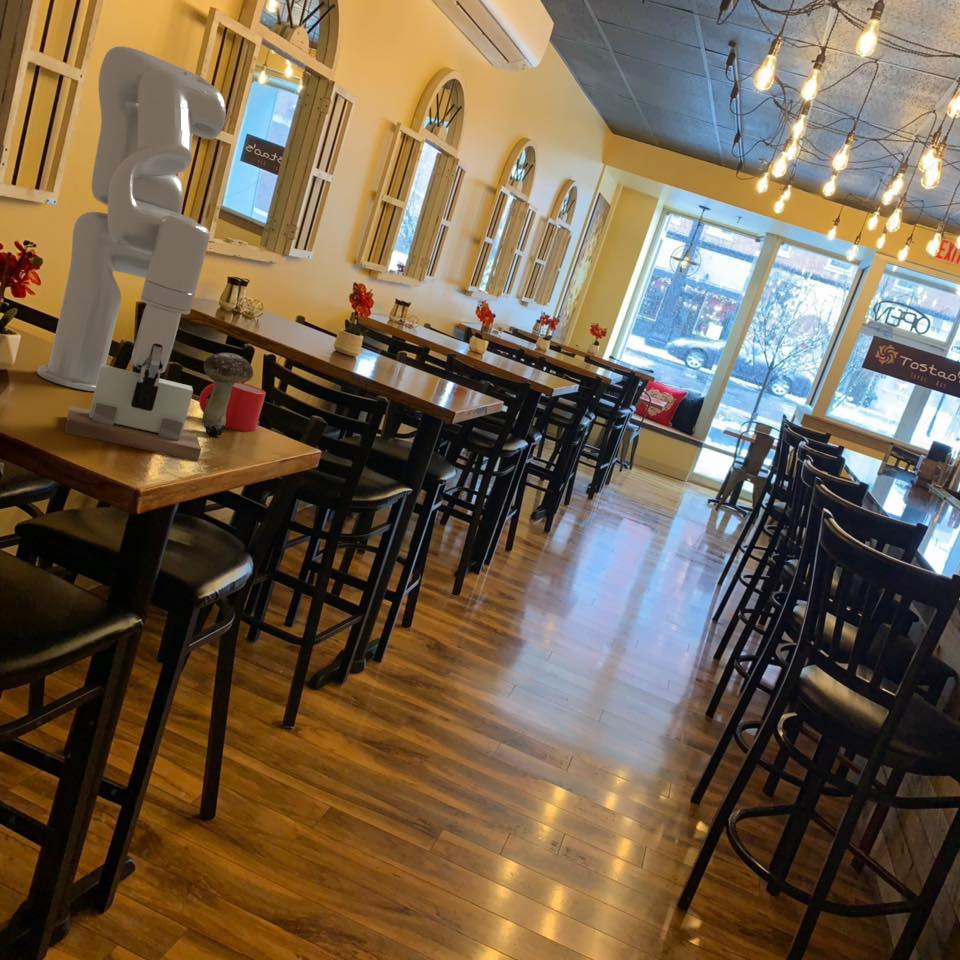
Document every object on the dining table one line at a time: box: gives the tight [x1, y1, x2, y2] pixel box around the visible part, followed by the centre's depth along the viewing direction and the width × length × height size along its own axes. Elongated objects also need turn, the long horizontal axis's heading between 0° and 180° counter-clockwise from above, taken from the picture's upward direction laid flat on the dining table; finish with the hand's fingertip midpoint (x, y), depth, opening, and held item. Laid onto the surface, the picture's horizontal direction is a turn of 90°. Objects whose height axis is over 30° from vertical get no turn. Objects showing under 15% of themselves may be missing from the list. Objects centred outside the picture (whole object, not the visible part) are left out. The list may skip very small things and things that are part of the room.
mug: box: [198, 382, 266, 433], centre depth 182 cm, size 8×12×8 cm, turn 119°
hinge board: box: [64, 403, 202, 462], centre depth 149 cm, size 10×20×5 cm, turn 111°
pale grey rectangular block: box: [89, 364, 194, 438], centre depth 149 cm, size 4×14×8 cm, turn 111°
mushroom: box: [202, 352, 254, 436], centre depth 168 cm, size 9×9×15 cm
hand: (140, 401), depth 149 cm, fingers open, 9 cm apart
